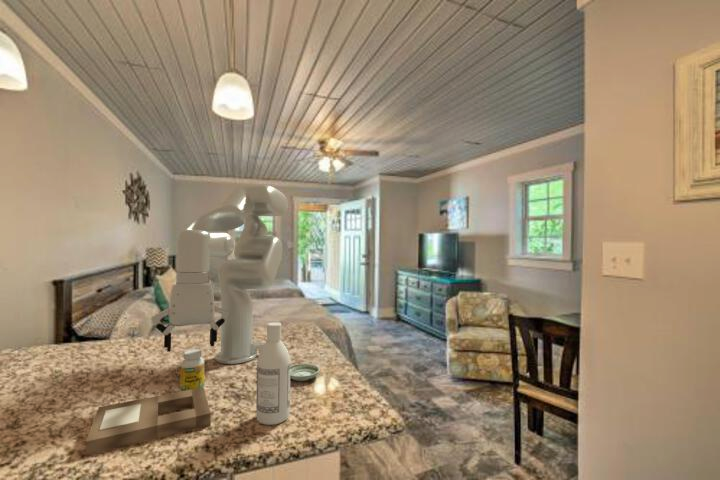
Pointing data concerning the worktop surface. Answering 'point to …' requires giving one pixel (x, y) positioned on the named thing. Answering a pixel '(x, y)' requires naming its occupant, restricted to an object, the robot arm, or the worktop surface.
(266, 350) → the bath foam
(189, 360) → the supplement bottle
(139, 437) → the rack board
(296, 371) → the saucer
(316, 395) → the worktop surface
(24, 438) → the worktop surface
